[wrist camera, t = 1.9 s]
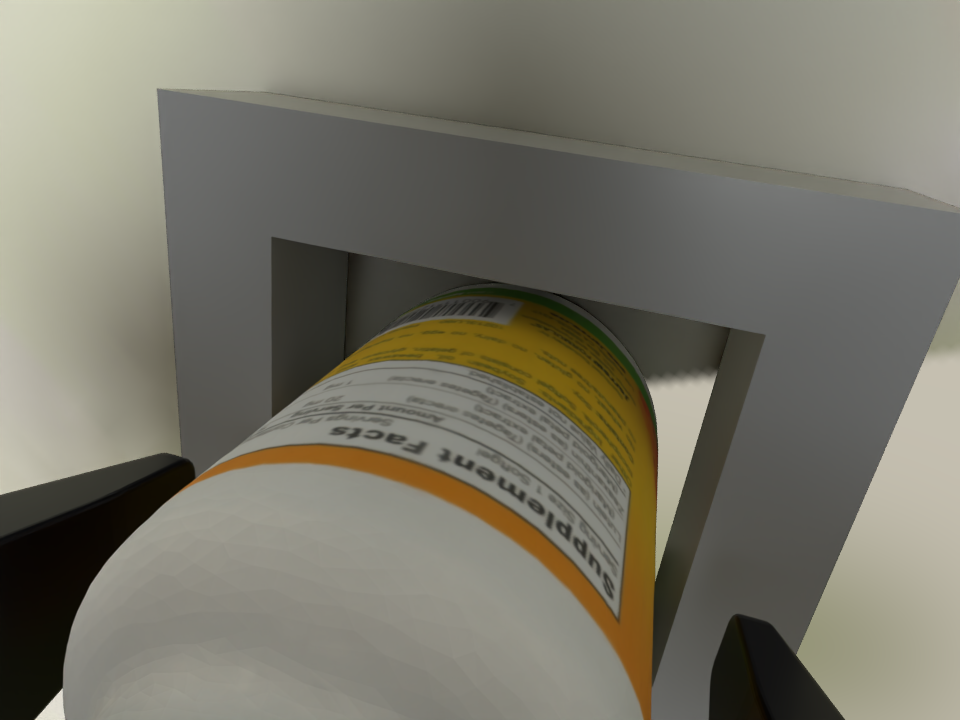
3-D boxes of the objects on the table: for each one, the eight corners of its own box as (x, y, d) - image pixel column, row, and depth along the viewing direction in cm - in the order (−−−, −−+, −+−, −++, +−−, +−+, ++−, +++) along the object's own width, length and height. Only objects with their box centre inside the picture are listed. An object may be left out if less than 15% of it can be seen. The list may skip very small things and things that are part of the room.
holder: (906, 188, 9) (984, 217, 7) (713, 697, 13) (723, 822, 11) (262, 91, 11) (157, 88, 9) (265, 560, 15) (194, 641, 13)
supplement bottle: (542, 589, 13) (291, 1550, 4) (327, 432, 13) (-346, 1079, 4) (727, 404, 11) (979, 1686, 2) (465, 212, 11) (-401, 676, 2)
